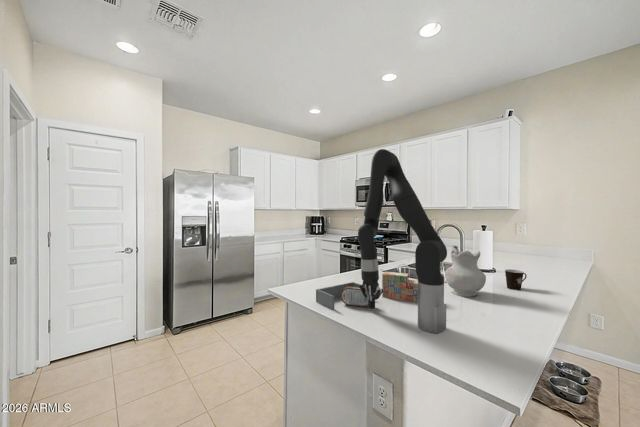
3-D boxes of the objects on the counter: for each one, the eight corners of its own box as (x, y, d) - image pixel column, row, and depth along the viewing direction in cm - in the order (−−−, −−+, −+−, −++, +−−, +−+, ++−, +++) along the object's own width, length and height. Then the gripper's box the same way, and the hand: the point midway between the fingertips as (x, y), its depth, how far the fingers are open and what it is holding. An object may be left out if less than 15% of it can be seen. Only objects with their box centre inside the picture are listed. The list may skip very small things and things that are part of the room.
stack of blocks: (427, 300, 135) (427, 275, 135) (426, 303, 129) (426, 278, 129) (384, 294, 144) (384, 271, 144) (382, 297, 139) (382, 273, 138)
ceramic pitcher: (434, 290, 154) (432, 247, 153) (462, 285, 160) (459, 243, 159) (465, 303, 133) (463, 253, 132) (495, 296, 139) (493, 248, 138)
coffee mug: (508, 290, 151) (508, 272, 151) (502, 285, 160) (502, 269, 159) (532, 291, 148) (532, 273, 148) (525, 287, 156) (525, 270, 156)
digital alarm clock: (373, 306, 125) (373, 288, 126) (372, 308, 122) (372, 289, 123) (341, 303, 129) (341, 285, 130) (339, 304, 126) (340, 286, 127)
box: (370, 299, 135) (370, 287, 135) (332, 309, 121) (332, 296, 121) (352, 293, 145) (352, 281, 145) (316, 301, 131) (316, 289, 131)
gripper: (387, 269, 116) (389, 310, 116) (365, 266, 127) (367, 303, 126) (374, 272, 112) (377, 314, 111) (353, 268, 122) (355, 306, 122)
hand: (371, 308), depth 119 cm, fingers closed
